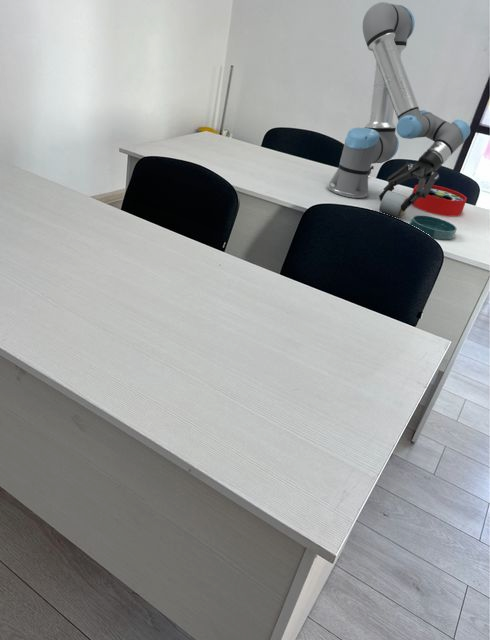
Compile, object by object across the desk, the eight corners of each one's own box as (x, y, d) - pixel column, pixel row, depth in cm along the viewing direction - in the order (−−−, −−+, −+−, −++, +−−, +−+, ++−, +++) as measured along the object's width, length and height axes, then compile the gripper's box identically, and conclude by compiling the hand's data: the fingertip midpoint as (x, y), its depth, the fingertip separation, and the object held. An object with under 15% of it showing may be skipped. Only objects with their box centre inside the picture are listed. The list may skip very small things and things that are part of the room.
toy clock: (435, 200, 213) (404, 182, 229) (429, 215, 216) (399, 197, 232) (478, 202, 220) (445, 185, 236) (472, 217, 223) (440, 199, 239)
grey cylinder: (398, 219, 205) (406, 198, 201) (377, 212, 208) (383, 191, 204) (407, 214, 213) (414, 193, 209) (386, 207, 216) (392, 187, 212)
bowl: (411, 220, 208) (414, 212, 206) (454, 231, 204) (457, 223, 202) (406, 231, 196) (409, 222, 194) (452, 243, 192) (455, 235, 190)
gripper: (407, 141, 211) (365, 186, 211) (458, 159, 196) (413, 207, 196) (411, 156, 216) (371, 200, 216) (461, 174, 202) (418, 221, 202)
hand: (391, 203), depth 206 cm, fingers closed on grey cylinder, 9 cm apart
